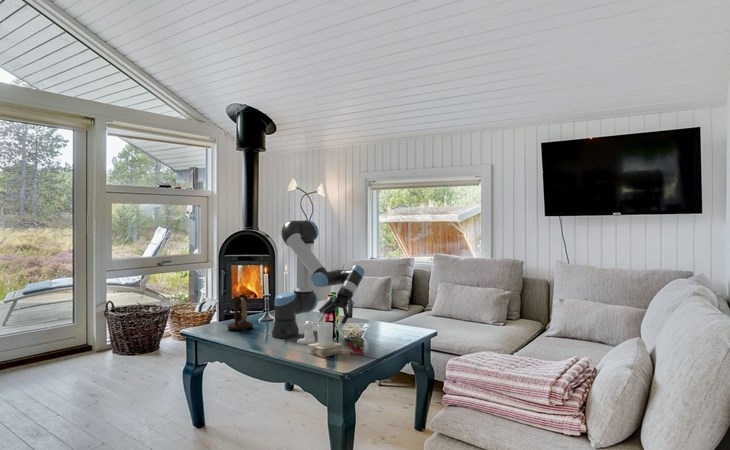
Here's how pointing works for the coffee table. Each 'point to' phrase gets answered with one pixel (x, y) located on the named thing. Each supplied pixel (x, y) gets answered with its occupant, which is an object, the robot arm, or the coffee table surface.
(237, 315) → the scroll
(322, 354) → the birch stand
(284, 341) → the coffee table surface
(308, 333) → the sitting furry creature
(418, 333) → the coffee table surface
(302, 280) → the robot arm
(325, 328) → the white cup
